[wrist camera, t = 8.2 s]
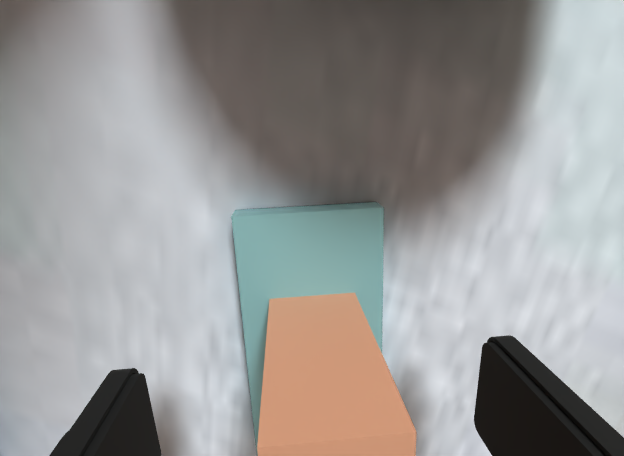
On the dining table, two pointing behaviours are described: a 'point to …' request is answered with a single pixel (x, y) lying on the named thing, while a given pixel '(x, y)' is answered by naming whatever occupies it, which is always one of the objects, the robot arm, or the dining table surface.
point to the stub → (318, 332)
